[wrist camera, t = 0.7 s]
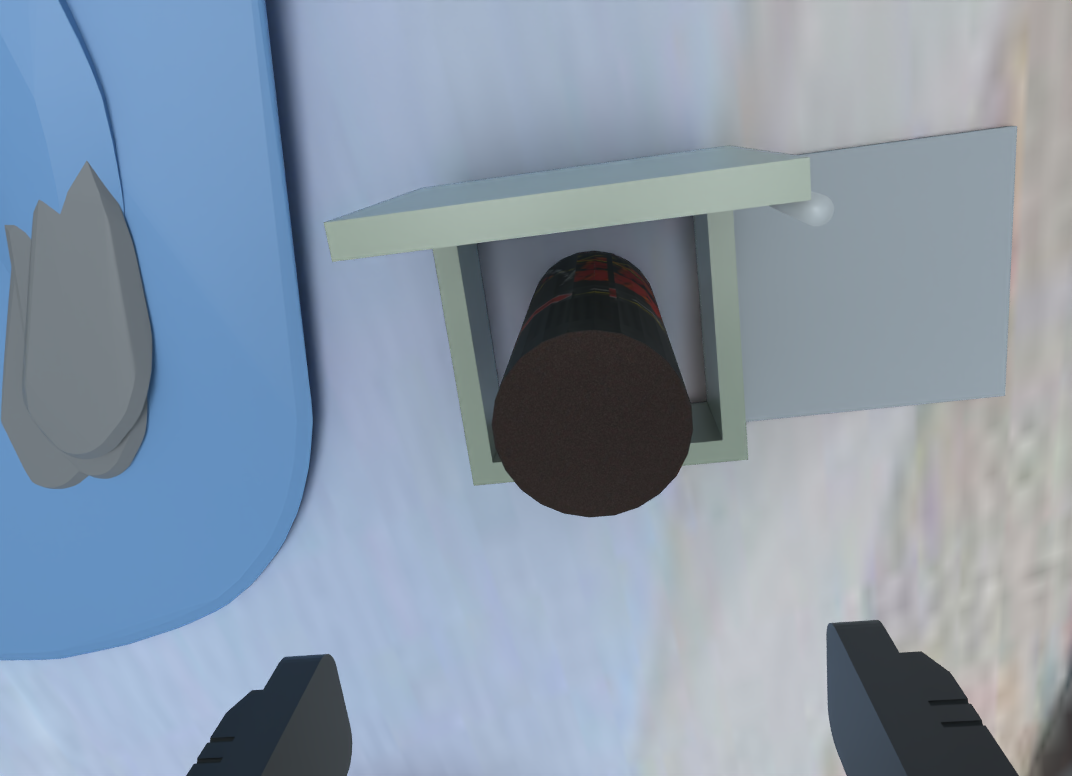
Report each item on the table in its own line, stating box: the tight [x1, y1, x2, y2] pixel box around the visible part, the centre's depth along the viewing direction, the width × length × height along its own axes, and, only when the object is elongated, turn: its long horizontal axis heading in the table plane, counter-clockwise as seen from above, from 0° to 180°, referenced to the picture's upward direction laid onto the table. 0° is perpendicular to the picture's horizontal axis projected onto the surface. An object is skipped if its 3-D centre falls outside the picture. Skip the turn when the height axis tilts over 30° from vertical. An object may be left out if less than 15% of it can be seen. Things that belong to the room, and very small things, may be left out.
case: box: [324, 146, 834, 486], centre depth 29 cm, size 13×13×17 cm
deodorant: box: [492, 251, 693, 517], centre depth 31 cm, size 6×6×15 cm
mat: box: [733, 126, 1017, 422], centre depth 36 cm, size 12×12×1 cm
